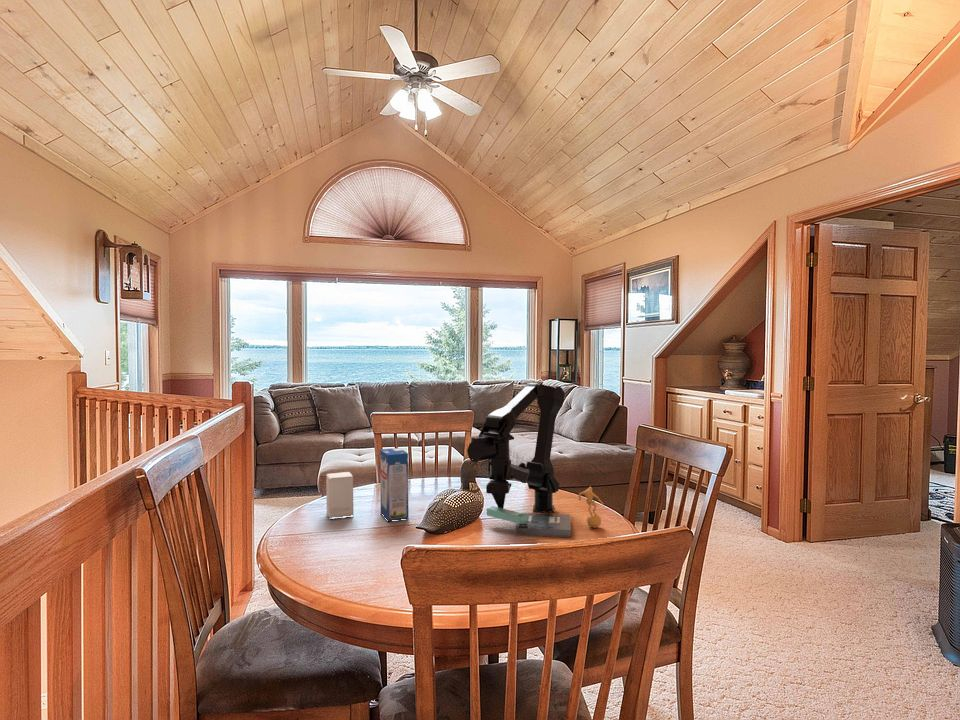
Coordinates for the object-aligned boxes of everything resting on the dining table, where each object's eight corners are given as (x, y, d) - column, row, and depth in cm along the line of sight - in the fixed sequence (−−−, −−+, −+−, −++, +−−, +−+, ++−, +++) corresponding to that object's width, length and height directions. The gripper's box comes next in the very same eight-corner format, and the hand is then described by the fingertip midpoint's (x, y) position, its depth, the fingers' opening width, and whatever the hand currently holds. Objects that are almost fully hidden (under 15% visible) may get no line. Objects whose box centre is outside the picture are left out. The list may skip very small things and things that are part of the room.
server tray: (519, 519, 162) (519, 510, 162) (569, 521, 160) (569, 512, 160) (515, 535, 148) (515, 525, 148) (571, 537, 146) (571, 527, 146)
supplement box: (354, 517, 165) (353, 476, 164) (328, 520, 162) (328, 478, 162) (350, 510, 171) (350, 471, 171) (326, 513, 169) (325, 473, 168)
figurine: (610, 529, 152) (610, 486, 152) (598, 534, 148) (598, 490, 148) (586, 522, 158) (585, 481, 158) (573, 527, 154) (573, 485, 154)
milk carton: (380, 513, 169) (380, 449, 168) (400, 510, 171) (399, 447, 171) (388, 522, 159) (387, 454, 159) (408, 519, 162) (408, 453, 161)
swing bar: (486, 515, 156) (486, 508, 156) (493, 513, 158) (493, 506, 158) (523, 525, 147) (523, 517, 147) (530, 522, 149) (530, 515, 149)
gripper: (525, 463, 147) (527, 520, 147) (528, 450, 165) (530, 501, 166) (485, 463, 148) (486, 520, 149) (492, 450, 167) (494, 501, 167)
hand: (501, 510), depth 158 cm, fingers closed
